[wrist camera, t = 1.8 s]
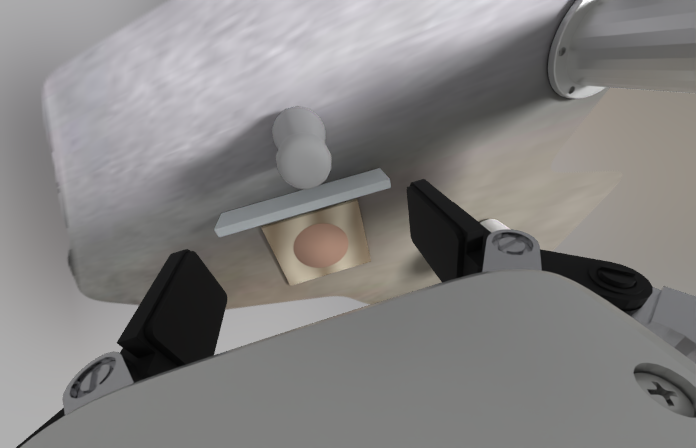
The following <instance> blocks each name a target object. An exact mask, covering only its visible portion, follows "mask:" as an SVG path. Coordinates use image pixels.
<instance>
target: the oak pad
mask: <svg viewBox="0 0 696 448" xmlns="http://www.w3.org/2000/svg"><path fill="white" fill-rule="evenodd" d="M262 231H263V233H264V235H265V236H266V238H267V240H268V242H269V244H270V246H271V248H272V250H273V252H274V254H275V256H276V258H277V260H278V262H279V264H280V266H281V268H282V270H283V272H284V274H285V276H286V278H287V280H288V282H289V284H290V286H292V285H295V284H298V283H302V282H305V281H308V280H311V279H315V278H318V277H321V276H325V275H328V274H331V273H334V272H338V271H341V270H344V269H348V268H351V267H354V266H357V265H361V264H364V263H367V262H371V259H370V254H369V250H368V245H367V241H366V236H365V231H364V227H363V222H362V218H361V213H360V208H359V204H358V200H357V199H354V200H351V201H347V202H344V203H340V204H337V205H334V206H330V207H327V208H323V209H320V210H316V211H313V212H309V213H306V214H303V215H299V216H296V217H292V218H289V219H285V220H282V221H279V222H275V223H272V224H268V225H265V226H262Z"/></svg>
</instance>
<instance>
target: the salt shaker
mask: <svg viewBox="0 0 696 448" xmlns="http://www.w3.org/2000/svg"><path fill="white" fill-rule="evenodd" d="M272 134H273V141H274V143H275V145H276V147H277V148H278V152H277V155H276V162H277V169H278V171H279V173H280V175H281V176H282V178H283V179H284V181H285V182H286V183H288V184H290V185H291V186H293V187H295V188H299V189H306V190H307V189H311V188H314V187H318V186H319V185H320V184H321V183H323V182H324V181H325V180H326V179H327V177H328V175H329V173H330V170H331V154H330V152H329V150H328V148H327V146H326V144H325V141H326V131H325V127H324V125H323V123H322V121H321V119H320V117H319V116H318V115H317V114H315V113H314V112H313V111H312V110H310V109H308V108H304V107H299V106H295V107H291V108H288V109H285V110H284V111H282V112H281V113H280V114H279V115H278V116H277V117H276V119H275V122H274V125H273V128H272Z"/></svg>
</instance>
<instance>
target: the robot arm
mask: <svg viewBox="0 0 696 448" xmlns="http://www.w3.org/2000/svg"><path fill="white" fill-rule="evenodd" d="M548 76H549V80H550V84H551V86H552V87H553V89H554V91H555V92H556V93H558V94H559V95H560V96H563V97H565V98H573V99H580V98H585V97H589V96H592V95H594V94H596V93H598V92H600V91H601V90H603V89H604V88H606V87H611V88H626V89H641V90H656V91H670V92H671V91H672V92H685V93H696V0H576V1H575V3H574V4H573V5H572V6H571V8H570V9H569V11H568V12H567V14H566V15H565V17H564V18H563V20H562V22H561V24H560V26H559V28H558V30H557V32H556V35H555V38H554V40H553V43H552V46H551V50H550V54H549V61H548ZM407 198H408V210H409V222H410V233H411V239H412V241H413V243H414V244H415V246H416V247H417V248H418V250H419V251H420V253H421V254H422V255H423V257H424V258H425V260H426V261H427V262H428V264H429V265H430V266H431V268H432V269H433V271H434V272H435V273H436V275H437V276H438V277H439V279H440V280H441V282H442V283H438V284H435V285H432V286H429V287H426V288H422V289H419V290H416V291H412V292H409V293H406V294H403V295H400V296H396V297H393V298H390V299H387V300H384V301H381V302H377V303H374V304H371V305H368V306H365V307H362V308H359V309H355V310H352V311H349V312H346V313H343V314H340V315H337V316H333V317H331V318H327V319H324V320H321V321H318V322H315V323H312V324H309V325H306V326H302V327H299V328H296V329H293V330H290V331H287V332H284V333H281V334H278V335H275V336H272V337H269V338H265V339H262V340H259V341H256V342H253V343H250V344H247V345H244V346H241V347H238V348H235V349H232V350H229V351H226V352H223V353H220V354H217V355H214V352H215V348H216V344H217V340H218V336H219V332H220V328H221V324H222V320H223V315H224V312H225V308H226V304H227V295H226V293H225V291H224V290H223V288H222V287H221V286H220V284H219V283H218V282H217V280H216V279H215V278H214V276H213V275H212V274H211V272H210V271H209V270H208V268H207V267H206V266H205V264H204V263H203V262H202V260H201V259H200V258H199V256H198V255H197V254H196V253H195V252H194V251H190V250H188V249H186V250H182V251H179V252H175V253H172V254H171V255H170V256H169V258H168V259H167V261H166V263H165V264H164V266H163V268H162V269H161V271H160V273H159V274H158V276H157V278H156V279H155V281H154V282H153V284H152V286H151V287H150V289H149V291H148V292H147V294H146V296H145V297H144V299H143V300H142V302H141V304H140V305H139V307H138V309H137V311H136V312H135V314H134V315H133V317H132V319H131V320H130V322H129V324H128V325H127V327H126V328H125V330H124V332H123V333H122V335H121V337H120V338H119V340H118V342H117V343H118V344H119V345H120V346H122V347H123V349H122V350H121V352H120V353H119V352H110V353H106V354H104V355H102V356H100V357H98V358H96V359H95V360H93V361H92V362H90V363H89V364H88V365H86V366H85V367H84V368H83V369H82V370H81V371H80V372H79V373H78V374H77V375H76V376H75V377H74V378H73V379H72V381H71V382H70V383H69V385H68V386H67V388H66V390H65V392H64V394H63V405H64V408H63V409H62V410H60V411H59V412H58V413H57V414H56V415H55V416H53V417H52V418H51V419H50V420H49V421H47V422H46V423H45V424H44V425H43V426H41V427H40V428H39V429H38V430H37V431H35V432H34V433H33V434H32V435H30V436H29V437H28V438H27V439H26V440H25V441H24V442H22V443H21V444H20V445H18V446H17V447H16V448H696V297H695V296H692V295H689V294H686V293H683V292H680V291H677V290H674V289H671V288H668V287H665V286H663V288H662V289H661V290H659V289H657V288H654V287H652V285H651V284H650V282H649V281H648V280H647V279H646V278H645V277H644V276H643V275H641V274H640V273H638V272H636V271H635V270H633V269H631V268H628V267H626V266H623V265H620V264H616V263H612V262H607V261H602V260H596V259H590V258H585V257H579V256H574V255H567V254H562V253H557V252H551V251H546V250H540V246H539V243H538V241H537V240H536V239H535V238H534V237H532V236H531V235H529V234H527V233H524V232H522V231H518V230H513V229H503V230H497V231H495V232H492V233H491V232H490V231H489V230H488V229H486V228H485V227H484V226H483V225H481V224H480V223H479V222H478V221H476V220H475V219H474V218H473V217H471V216H470V215H469V214H468V213H467V212H465V211H464V210H463V209H462V208H460V207H459V206H458V205H457V204H455V203H454V202H452V201H451V200H450V199H448V198H447V197H446V196H445V195H443V194H442V193H441V192H440V191H438V190H437V189H436V188H435V187H434V186H432V185H431V184H430V183H429V182H427V181H426V180H425V179H422V180H419V181H415V182H412V183H411V184H410V187H407Z"/></svg>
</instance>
